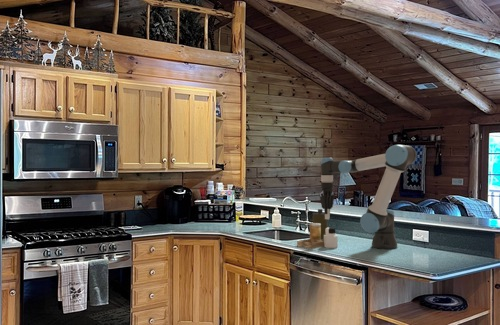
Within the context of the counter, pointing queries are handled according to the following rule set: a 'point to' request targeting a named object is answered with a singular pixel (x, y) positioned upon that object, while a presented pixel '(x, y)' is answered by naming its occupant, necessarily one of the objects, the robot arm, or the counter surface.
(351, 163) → the robot arm
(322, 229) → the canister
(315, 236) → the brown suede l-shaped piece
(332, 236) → the medicine bottle
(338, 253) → the counter surface
